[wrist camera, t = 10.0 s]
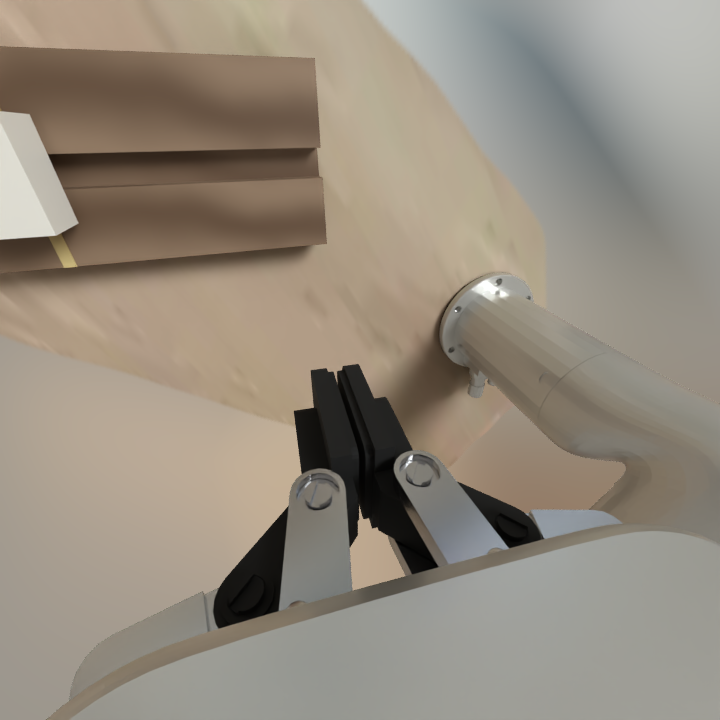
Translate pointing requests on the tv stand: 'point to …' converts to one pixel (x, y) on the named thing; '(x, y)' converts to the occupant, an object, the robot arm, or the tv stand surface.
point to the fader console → (169, 153)
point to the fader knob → (29, 183)
